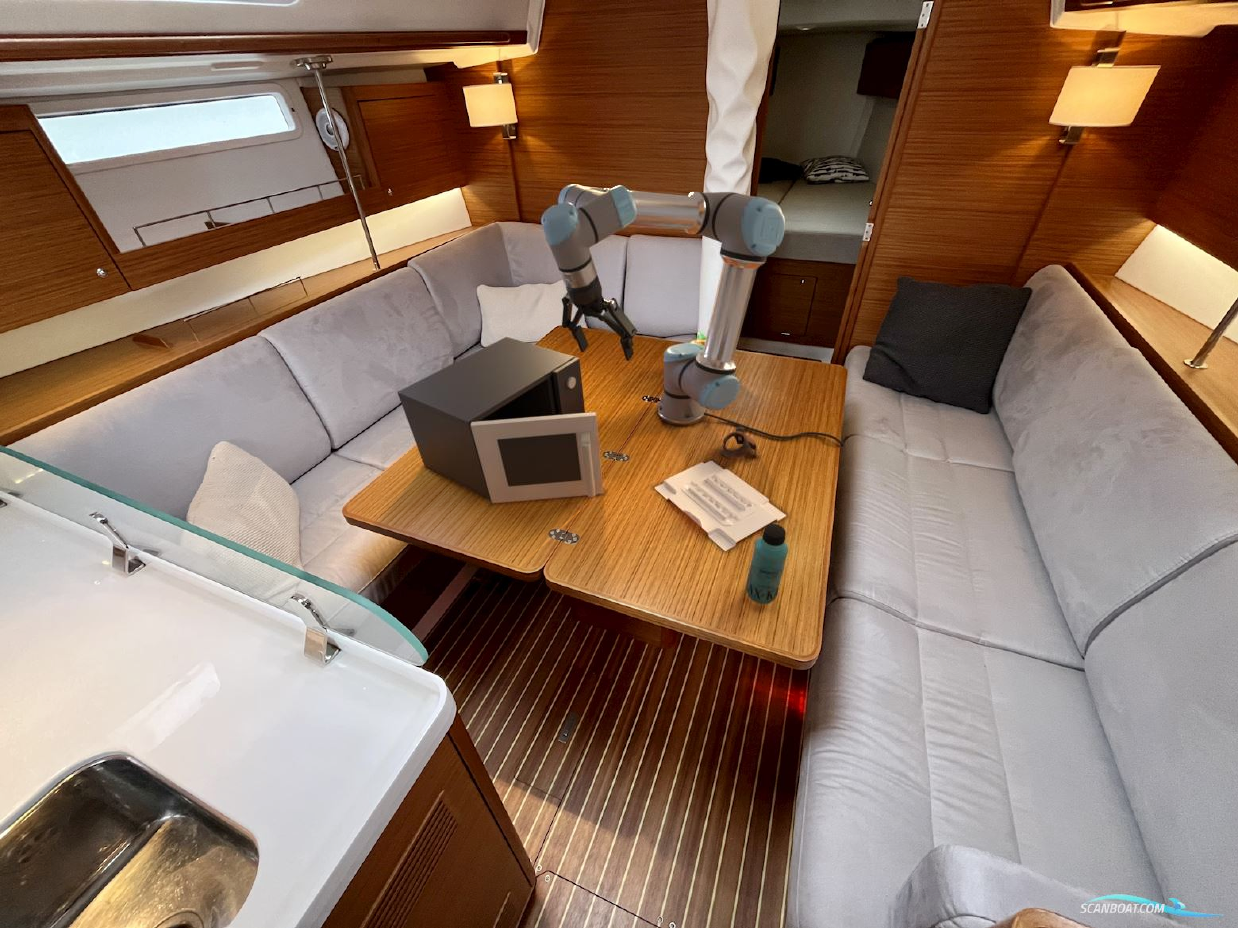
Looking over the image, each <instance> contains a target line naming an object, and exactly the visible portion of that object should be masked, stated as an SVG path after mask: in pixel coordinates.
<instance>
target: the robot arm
mask: <svg viewBox="0 0 1238 928" xmlns="http://www.w3.org/2000/svg"><path fill="white" fill-rule="evenodd" d="M540 222H541V226H542V230H543V233H544V236H545V240H546V242H547V243H548V246H549V249H550V251H551V254H552V256H553V258H554V260H555V263H556V266H557V268H558V271H559V274H560V276H561V279H562V281H563V284H564V285H565V291H566V293H565V294H564V295H563V297H562V298H561V303H562V316H561V317H562V319H561V327H562V328H563V329H566V328H567V329H568V331H570V333H571V335H572V337H573V339H574V340H575V342H576V343H577V346H578V348H579V351H580V353H584V352H585V351H586V350H587V349H588V347H589V342H588V339H587V337H586V335H585V332H584V330H583V326H582V325H581V324H579V323H580V321H581V319H582V317H583V315H584V316H585V317H588V318H589V317H592V318H596V319H598V320H599V321H600V322H604V324H605V325H606V326H608V327H609V328H610V329H611V330H612V331H613V332H615V333H616V335H618V337H620V339H619V342H620V345H621V348H622V352H623V355H624V357H625V360H626V362H629V361H630V360H631V359H632V358H633V356H634V355H635V352H634V349H633V348H634V342H633V338H634V337H635V335H636V334H637V333H638V329H637V328H636V327H635V325H634V324H633V323H632V321H631V320H630V319H629V317H628V316H627V315H626V313H624V311H623V309H622V308H621V306H619V303H618V300H617V298H615V297H612V298H611V299H610V300H609V299H608V300H607V299H605V298H604V296H603V287H602V284H601V282H600V278H599V275H598V271H597V268H596V265H595V263H594V260H593V256H592V253H591V249H590V248H591V247H593V246H595V245H596V244H598V243H600V242H602V241H603V240H605V239H607V238H609V237H610V236H612V235H614V234H616V233H618V232H619V231H621V230H624V229H625V228H626V227H633V228H651V229H652V228H653V229H670V230H683V231H685V232H686V233H687V234H688V235H698V236H701V237H706V238H708V239H711V240H714V241H716V242H719V243H720V250H719V256H720V258H721V260H722V262H723V263H722V267H721V268H722V269H721V271H720V272H721V273H720V276H719V280H718V285H717V290H716V294H715V298H714V302H713V306H712V310H711V315H710V320H709V323H708V327H707V332H706V335H705V337H706V341H705V345H704V349H703V348H702V347H701V346H700V345H698V344H693V343H690V342H685V343H677V344H674V345H671V346H669V347H667V348H666V350H665V351H664V354H663V360H662V362H663V392H662V395H661V398H660V401H657V415H658V418H659V419H660V420H661V421H663V422H664V423H666V424H669V425H672V426H679V427H680V426H681V427H682V426H692V425H695V424H697V423H699V422H701V421H702V420H703V419H704V418H705V416H707V417H710V418H714V419H715V420H716V419H717V420H720V421H722V422H726V423H729V424H732V425H735V426H737V427H740V426H741V427H743V428H744V429H746V430H748V431H752V432H755V433H758V434H761V435H763V436H766V437H770V438H773V439H782V440H784V439H785V440H787V439H788V440H789V439H794V438H798V437H802V436H805V435H806V436H807V435H814V436H822V437H827V438H831V439H833V440H834V441H836V442H837V443H838V444H839V445H840V446H841V447H843V448H845V447H846V445H845V443H844V442H842V440H840V439H839V438H838V437H836V436H835V435H832V434H828V433H824V432H817V431H804V432H800V433H796V434H792V435H785V436H784V435H776V434H771V433H768V432H765V431H763V430H760V429H756V428H754V427H750V426H746V425H744V424H741V423H739V422H735V421H733V420H730V419H727V418H724V417H721V416H717V415H714V414H711V413H707V412H706V410H708V411H710V412H719V411H721V410H724V409H725V408H727V407H729V406H730V405H732V403H733V402H734V401H735V400H736V398H737V397H738V395H739V393H740V389H741V382H740V380H739V379H738V377H736V371H737V367H738V363H737V361H736V360H735V359H734V357H735V354H736V350H737V347H738V342H739V339H740V336H741V332H742V327H743V324H744V320H745V317H746V313H747V309H748V305H749V302H750V298H751V295H752V291H753V287H754V283H755V279H756V276H757V271H758V269H759V268H760V267H761V266H763V265H764V264H765V263H767V260H768V259H767V258H768V256H770V255H772V254H773V253H774V252H776V250H777V248H779V247H780V245H781V243H782V241H783V239H784V236H785V232H786V231H785V230H786V219H785V215H784V213H783V211H782V208H781V207H780V205H779V204H777V203H776V202H775V201H772V200H769V199H767V198H764V197H762V196H761V197H760V196H753V195H747V194H744V193H739V192H734V191H718V192H717V191H714V192H710V191H709V192H707V191H706V192H703V191H702V192H701V191H692V192H690V193H689V194H688V195H683V194H672V193H663V192H661V193H660V192H651V191H638V190H629V189H628V188H627V187H625V186H624V185H621V184H618V185H615V186H614V187H611V188H607V187H605V188H604V187H602V188H601V187H592V186H584V185H582V184H577V183H576V184H575V183H574V184H573V183H572V184H567V185H566V186H565V187H563V188H562V189H561V191H560V192H559V194H558V199H557V204H554V205H552V206H550V207H548V208H547V209H546V210H545V211H544V212H543V214H542V216H541V221H540ZM573 305H574V306H573ZM573 307H576V309H577V310H576V312H575V314H574V317H573V318H572V314H573ZM603 311H604V313H603Z"/></svg>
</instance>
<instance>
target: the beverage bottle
mask: <svg viewBox="0 0 1238 928" xmlns="http://www.w3.org/2000/svg"><path fill="white" fill-rule="evenodd" d="M786 534H787V531H786V529H785V528H784V526H782V525H780V524H778V523H769V524H767V525H765V526H764V528H763V532H762V535H761V536H759V537H757V539H756V540H755V542H754V547H753V552H752V557H751V561H750V562H749V563H750V564H749V565H750V566H749V571H748V573H747V579H746V585H745V590H746V595H747V596H748V598H749V599H750V600H751V601H752V602H753V603H757V604H759V605H769V604H772V603H773V602H774V601H775V600H776V599H777V597H778V594H779V590H780V586H781V582H782V577H783V573H784V570H785V565H786V560H787V556H788V553H789V545H788V544H787V542H786Z"/></svg>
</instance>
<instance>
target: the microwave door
mask: <svg viewBox="0 0 1238 928" xmlns="http://www.w3.org/2000/svg"><path fill="white" fill-rule="evenodd" d="M471 429H472V433H473V436H474V440H475V444H476V447H477V451H478V454H479V458H480V462H481V465H482V469H483V472H484V476H485V479H486V483H487V487H488V490H489V494H490V497H491V500H490V502H491V504H500V503H511V502H524V501H525V502H526V501H536V500H548V499H558V498H559V499H560V498H571V497H581V496H587V497H588V498H594V497H595V496H596V495H604V487H603V486H604V483H603V474H602V463H601V453H600V440H599V429H598V419H597V412H596V411H592V412H590V411H589V412H585V413H578V414H566V415H553V416H541V417H529V418H517V419H504V420H492V421H480V422H472V423H471Z"/></svg>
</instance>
